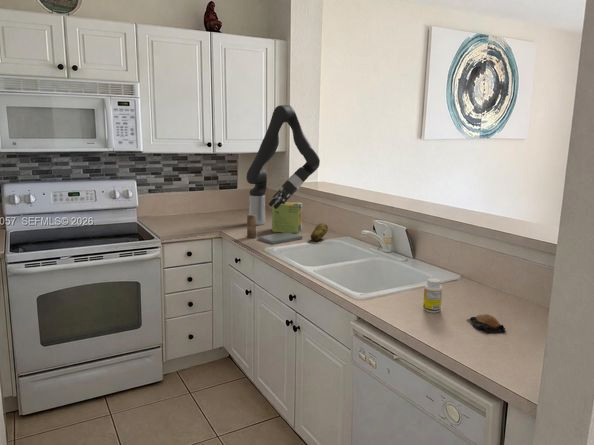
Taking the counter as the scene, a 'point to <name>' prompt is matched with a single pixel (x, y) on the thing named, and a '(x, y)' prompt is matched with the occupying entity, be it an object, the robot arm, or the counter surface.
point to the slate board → (280, 238)
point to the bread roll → (486, 324)
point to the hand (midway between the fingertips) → (272, 206)
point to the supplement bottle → (432, 295)
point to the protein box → (287, 217)
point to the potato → (319, 232)
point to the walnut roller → (251, 226)
